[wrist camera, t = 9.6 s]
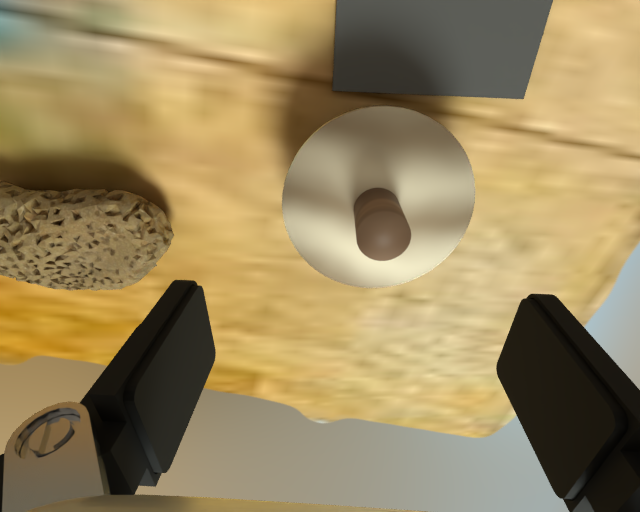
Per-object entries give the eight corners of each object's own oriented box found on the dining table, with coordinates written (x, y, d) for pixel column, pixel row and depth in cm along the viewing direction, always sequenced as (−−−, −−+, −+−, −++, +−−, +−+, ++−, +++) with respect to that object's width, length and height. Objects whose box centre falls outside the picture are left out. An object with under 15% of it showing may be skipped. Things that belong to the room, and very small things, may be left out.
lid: (281, 101, 24) (266, 110, 19) (494, 109, 24) (537, 121, 19) (285, 277, 32) (274, 319, 27) (448, 286, 31) (469, 330, 26)
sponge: (16, 248, 41) (165, 313, 39) (-67, 267, 33) (113, 349, 32) (24, 138, 37) (191, 206, 35) (-69, 131, 29) (138, 217, 28)
